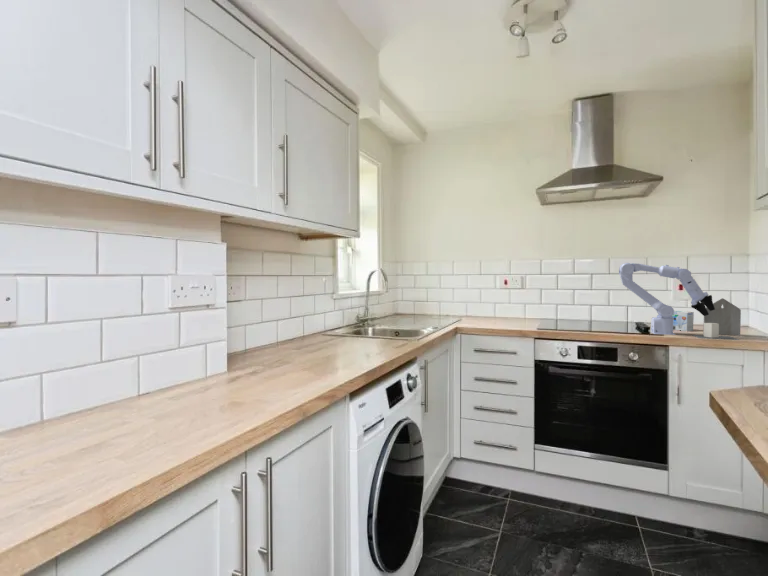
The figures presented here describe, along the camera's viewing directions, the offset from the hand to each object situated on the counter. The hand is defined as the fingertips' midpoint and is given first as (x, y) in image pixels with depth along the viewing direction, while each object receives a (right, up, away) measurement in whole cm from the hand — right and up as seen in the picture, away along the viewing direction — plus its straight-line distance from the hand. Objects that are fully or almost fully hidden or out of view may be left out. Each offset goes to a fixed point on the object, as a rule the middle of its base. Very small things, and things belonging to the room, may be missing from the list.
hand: (709, 312), depth 200 cm
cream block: (-4, -12, -6) cm, 14 cm away
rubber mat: (-2, -12, -5) cm, 14 cm away
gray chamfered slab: (+11, -12, +8) cm, 19 cm away
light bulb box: (+4, -12, +25) cm, 28 cm away
